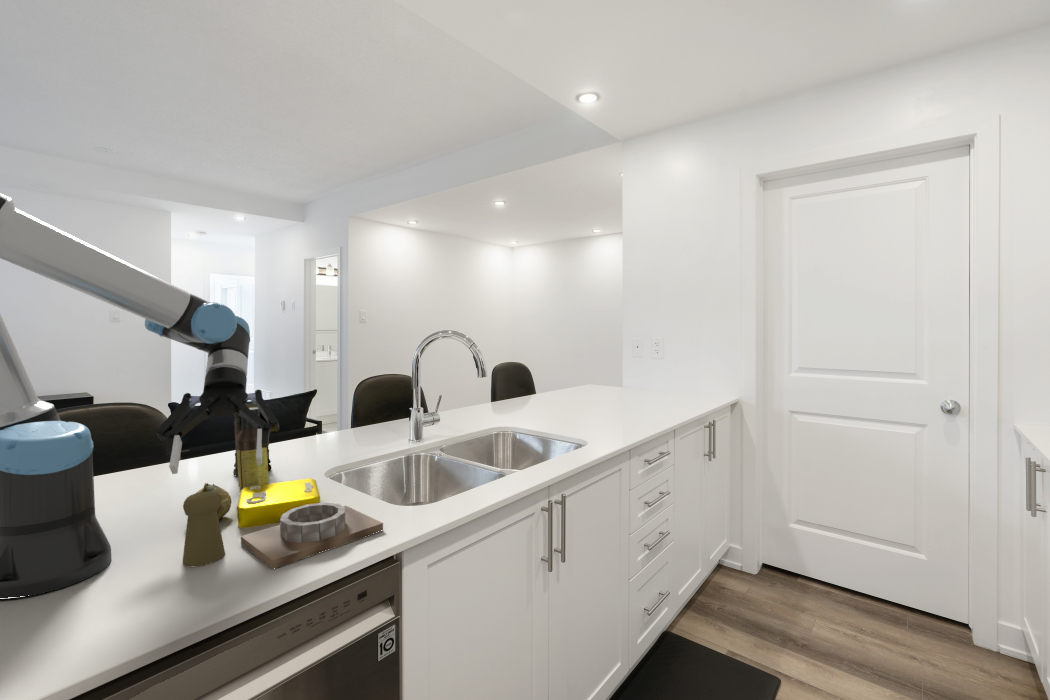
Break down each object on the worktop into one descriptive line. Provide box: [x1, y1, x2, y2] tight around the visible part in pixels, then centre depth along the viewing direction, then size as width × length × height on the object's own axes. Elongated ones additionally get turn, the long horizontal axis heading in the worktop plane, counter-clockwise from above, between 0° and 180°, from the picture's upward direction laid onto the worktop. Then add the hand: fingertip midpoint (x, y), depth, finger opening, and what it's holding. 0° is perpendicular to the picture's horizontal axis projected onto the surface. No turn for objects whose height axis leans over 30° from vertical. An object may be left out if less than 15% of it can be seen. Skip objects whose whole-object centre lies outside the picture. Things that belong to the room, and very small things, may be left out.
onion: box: [194, 482, 232, 521], centre depth 100 cm, size 8×8×8 cm
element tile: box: [236, 477, 321, 529], centre depth 105 cm, size 15×15×5 cm
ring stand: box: [240, 502, 384, 570], centre depth 91 cm, size 20×14×4 cm
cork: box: [182, 492, 226, 567], centre depth 83 cm, size 6×6×11 cm
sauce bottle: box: [237, 408, 270, 493], centre depth 116 cm, size 6×6×20 cm
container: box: [232, 403, 272, 477], centre depth 132 cm, size 9×9×18 cm
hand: (217, 465), depth 92 cm, fingers open, 13 cm apart
